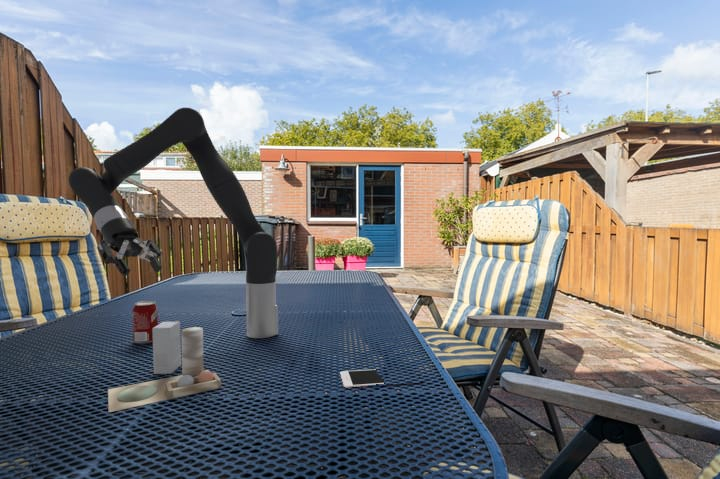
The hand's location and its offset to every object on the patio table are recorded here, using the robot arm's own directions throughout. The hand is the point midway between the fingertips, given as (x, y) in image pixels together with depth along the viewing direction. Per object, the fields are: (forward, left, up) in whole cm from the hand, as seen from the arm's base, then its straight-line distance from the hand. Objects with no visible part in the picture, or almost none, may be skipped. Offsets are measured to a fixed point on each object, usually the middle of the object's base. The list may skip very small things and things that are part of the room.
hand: (143, 271), depth 99 cm
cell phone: (-45, +41, -24) cm, 65 cm away
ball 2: (-9, +26, -22) cm, 36 cm away
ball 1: (-5, +26, -22) cm, 35 cm away
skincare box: (-4, +11, -24) cm, 26 cm away
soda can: (-2, -21, -24) cm, 32 cm away
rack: (-2, +23, -24) cm, 33 cm away
